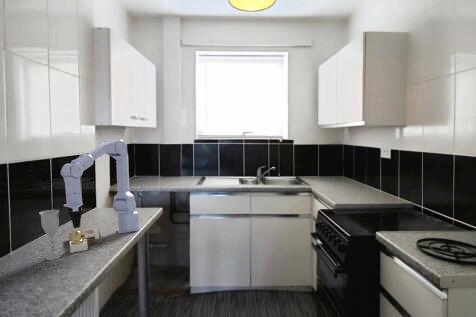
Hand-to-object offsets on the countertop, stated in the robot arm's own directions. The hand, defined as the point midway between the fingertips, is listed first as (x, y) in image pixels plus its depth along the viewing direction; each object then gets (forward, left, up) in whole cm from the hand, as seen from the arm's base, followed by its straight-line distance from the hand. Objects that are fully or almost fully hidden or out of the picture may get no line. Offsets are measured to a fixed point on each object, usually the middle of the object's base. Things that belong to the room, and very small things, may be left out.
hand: (76, 225), depth 148 cm
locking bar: (-5, -5, -7) cm, 10 cm away
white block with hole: (0, 0, -10) cm, 10 cm away
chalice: (+9, +6, -10) cm, 15 cm away
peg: (0, 0, -7) cm, 7 cm away
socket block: (-3, -11, -10) cm, 15 cm away
